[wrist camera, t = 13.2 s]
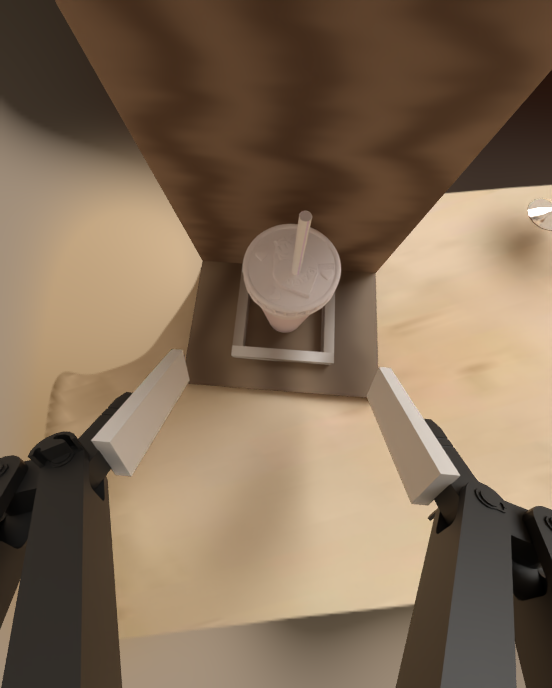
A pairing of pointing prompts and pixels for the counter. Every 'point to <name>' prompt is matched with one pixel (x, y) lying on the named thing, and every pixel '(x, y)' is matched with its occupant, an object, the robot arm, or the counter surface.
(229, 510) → the counter surface
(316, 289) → the smoothie
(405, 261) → the counter surface
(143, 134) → the overhang shelf
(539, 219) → the wineglass
